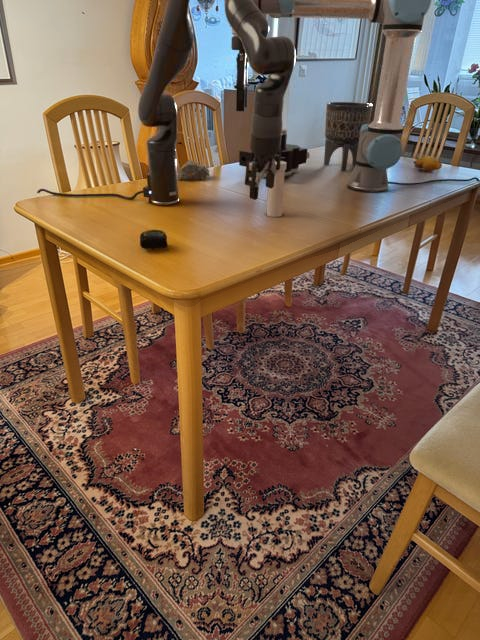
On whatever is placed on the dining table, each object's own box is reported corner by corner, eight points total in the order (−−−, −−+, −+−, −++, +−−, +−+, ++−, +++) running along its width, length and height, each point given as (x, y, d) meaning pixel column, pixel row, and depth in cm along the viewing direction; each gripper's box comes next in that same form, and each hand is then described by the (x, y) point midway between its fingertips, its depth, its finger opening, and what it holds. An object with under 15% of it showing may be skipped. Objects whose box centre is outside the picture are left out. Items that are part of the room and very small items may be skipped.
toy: (415, 164, 201) (409, 156, 214) (418, 178, 204) (412, 170, 217) (442, 156, 198) (434, 149, 211) (444, 170, 201) (436, 162, 214)
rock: (201, 173, 191) (201, 157, 188) (214, 178, 186) (214, 161, 182) (175, 178, 184) (174, 161, 180) (187, 183, 178) (186, 166, 175)
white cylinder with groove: (267, 166, 140) (267, 160, 139) (285, 167, 140) (285, 160, 139) (268, 170, 135) (268, 164, 134) (286, 171, 135) (287, 164, 134)
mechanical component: (240, 120, 182) (283, 115, 202) (239, 174, 192) (280, 164, 212) (283, 126, 170) (325, 120, 190) (280, 183, 180) (320, 171, 200)
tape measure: (140, 252, 115) (139, 238, 113) (141, 242, 120) (140, 229, 119) (167, 251, 116) (166, 237, 114) (167, 241, 121) (166, 228, 120)
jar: (266, 212, 147) (269, 162, 139) (281, 212, 147) (284, 162, 139) (266, 216, 143) (269, 165, 135) (282, 217, 143) (285, 165, 135)
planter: (313, 167, 208) (319, 103, 195) (331, 160, 222) (338, 101, 209) (353, 173, 199) (362, 107, 185) (369, 166, 213) (379, 104, 199)
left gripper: (267, 120, 117) (262, 180, 128) (238, 136, 108) (235, 198, 119) (293, 127, 115) (286, 187, 125) (265, 143, 105) (260, 207, 116)
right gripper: (234, 37, 155) (234, 105, 166) (227, 34, 134) (227, 112, 144) (256, 37, 155) (254, 106, 165) (253, 34, 133) (250, 113, 144)
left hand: (261, 192), depth 122 cm, fingers open, 8 cm apart
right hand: (241, 109), depth 155 cm, fingers open, 13 cm apart
